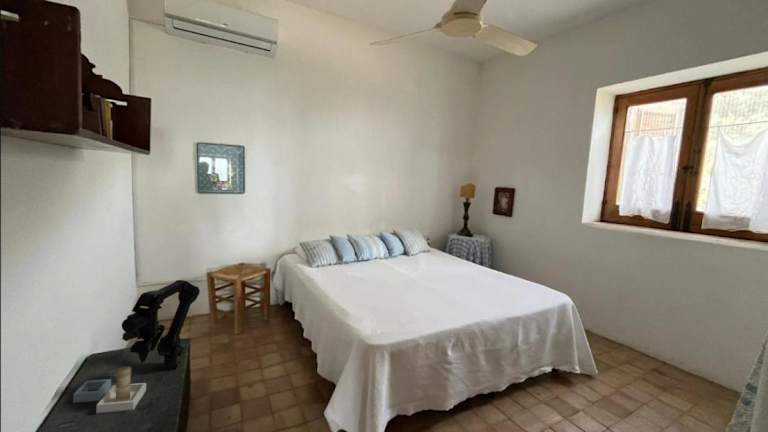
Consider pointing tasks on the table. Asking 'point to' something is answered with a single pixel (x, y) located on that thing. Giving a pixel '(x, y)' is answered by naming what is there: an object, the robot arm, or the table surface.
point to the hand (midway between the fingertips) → (147, 356)
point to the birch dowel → (123, 384)
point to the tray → (111, 405)
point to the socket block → (86, 395)
